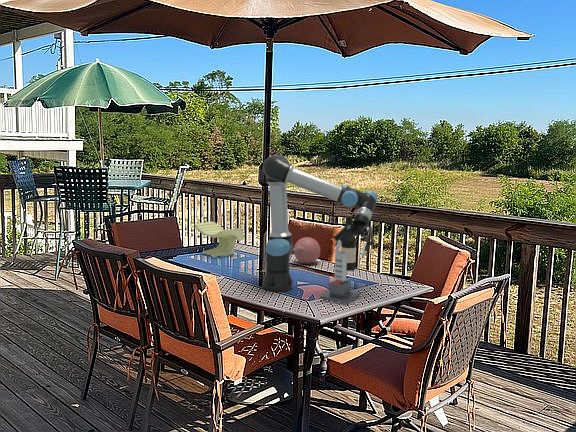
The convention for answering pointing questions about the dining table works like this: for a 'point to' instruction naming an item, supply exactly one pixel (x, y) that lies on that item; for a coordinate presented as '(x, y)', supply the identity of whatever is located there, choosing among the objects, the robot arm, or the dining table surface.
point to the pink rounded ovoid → (306, 250)
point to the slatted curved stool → (220, 238)
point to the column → (340, 266)
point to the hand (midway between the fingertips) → (348, 254)
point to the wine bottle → (349, 247)
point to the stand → (340, 293)
